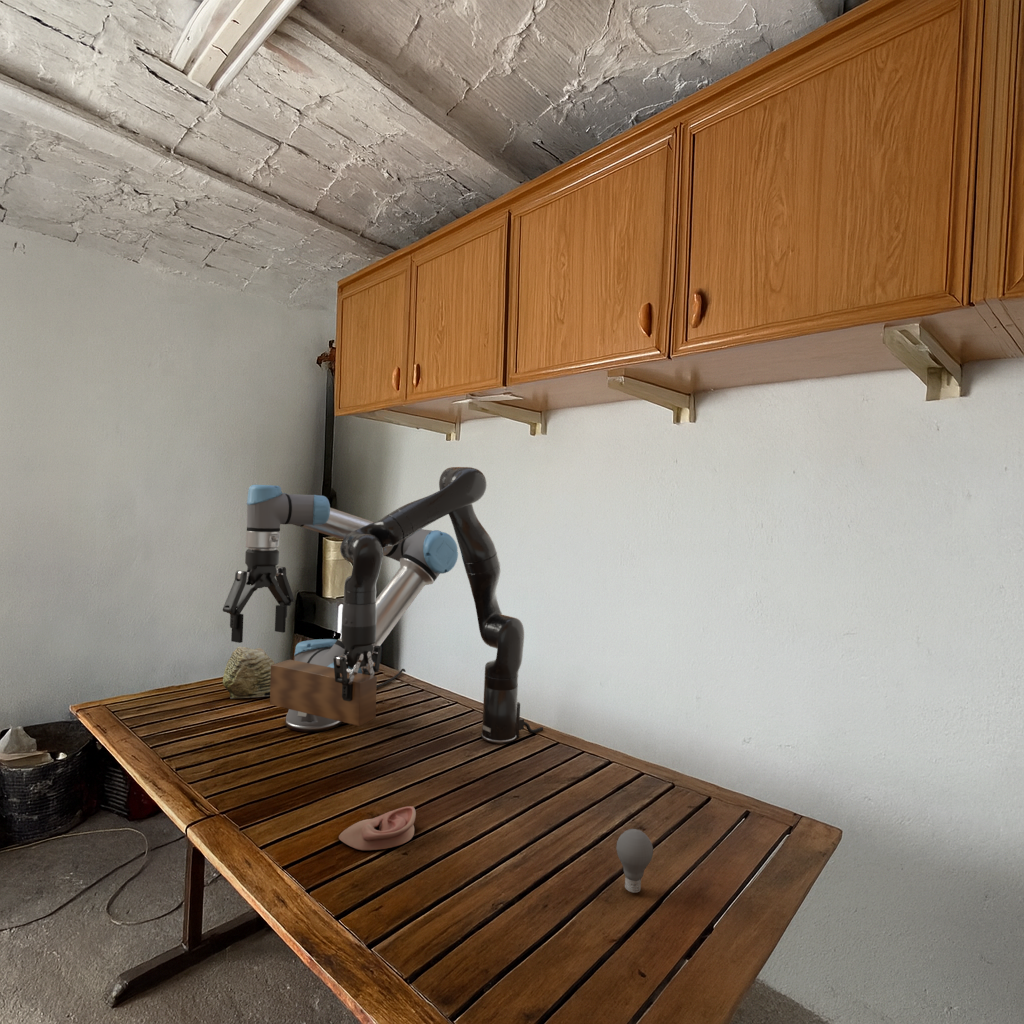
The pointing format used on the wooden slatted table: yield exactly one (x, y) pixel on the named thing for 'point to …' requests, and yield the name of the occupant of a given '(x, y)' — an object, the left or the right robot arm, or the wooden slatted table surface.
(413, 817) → the anatomical model
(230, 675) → the fossil
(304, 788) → the wooden slatted table surface
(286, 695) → the bar
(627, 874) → the light bulb
